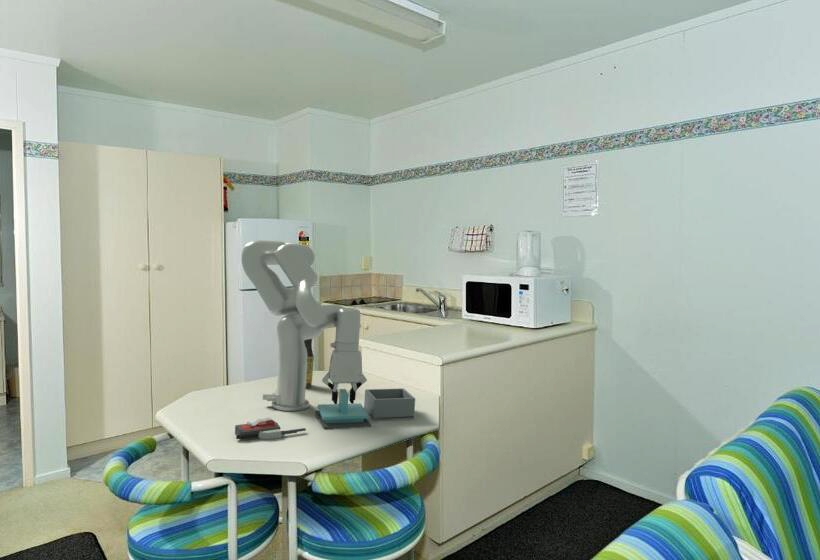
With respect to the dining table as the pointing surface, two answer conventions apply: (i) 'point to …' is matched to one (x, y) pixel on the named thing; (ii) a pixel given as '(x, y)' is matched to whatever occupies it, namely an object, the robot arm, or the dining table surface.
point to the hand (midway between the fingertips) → (343, 402)
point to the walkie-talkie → (261, 430)
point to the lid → (343, 410)
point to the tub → (389, 404)
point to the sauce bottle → (309, 361)
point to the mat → (341, 425)
